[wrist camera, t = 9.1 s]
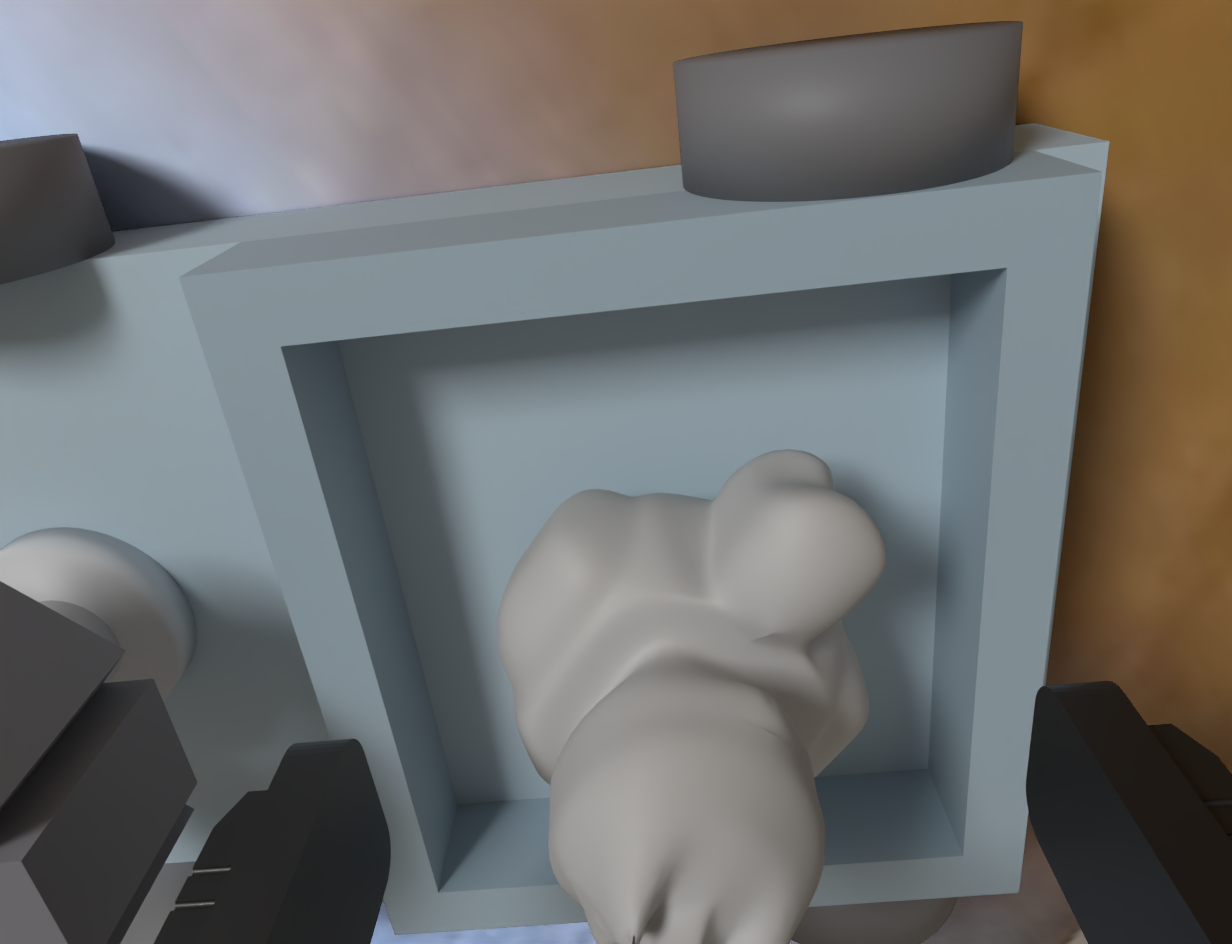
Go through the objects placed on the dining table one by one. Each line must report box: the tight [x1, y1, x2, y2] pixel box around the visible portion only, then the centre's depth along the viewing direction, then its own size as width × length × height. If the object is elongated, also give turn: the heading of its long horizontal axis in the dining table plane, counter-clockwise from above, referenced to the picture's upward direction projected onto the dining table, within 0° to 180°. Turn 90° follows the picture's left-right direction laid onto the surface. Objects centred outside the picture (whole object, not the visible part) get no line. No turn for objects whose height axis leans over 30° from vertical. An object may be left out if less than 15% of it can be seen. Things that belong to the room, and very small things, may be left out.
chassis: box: [0, 21, 1109, 944], centre depth 15 cm, size 15×20×6 cm
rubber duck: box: [498, 449, 886, 944], centre depth 12 cm, size 5×7×8 cm
